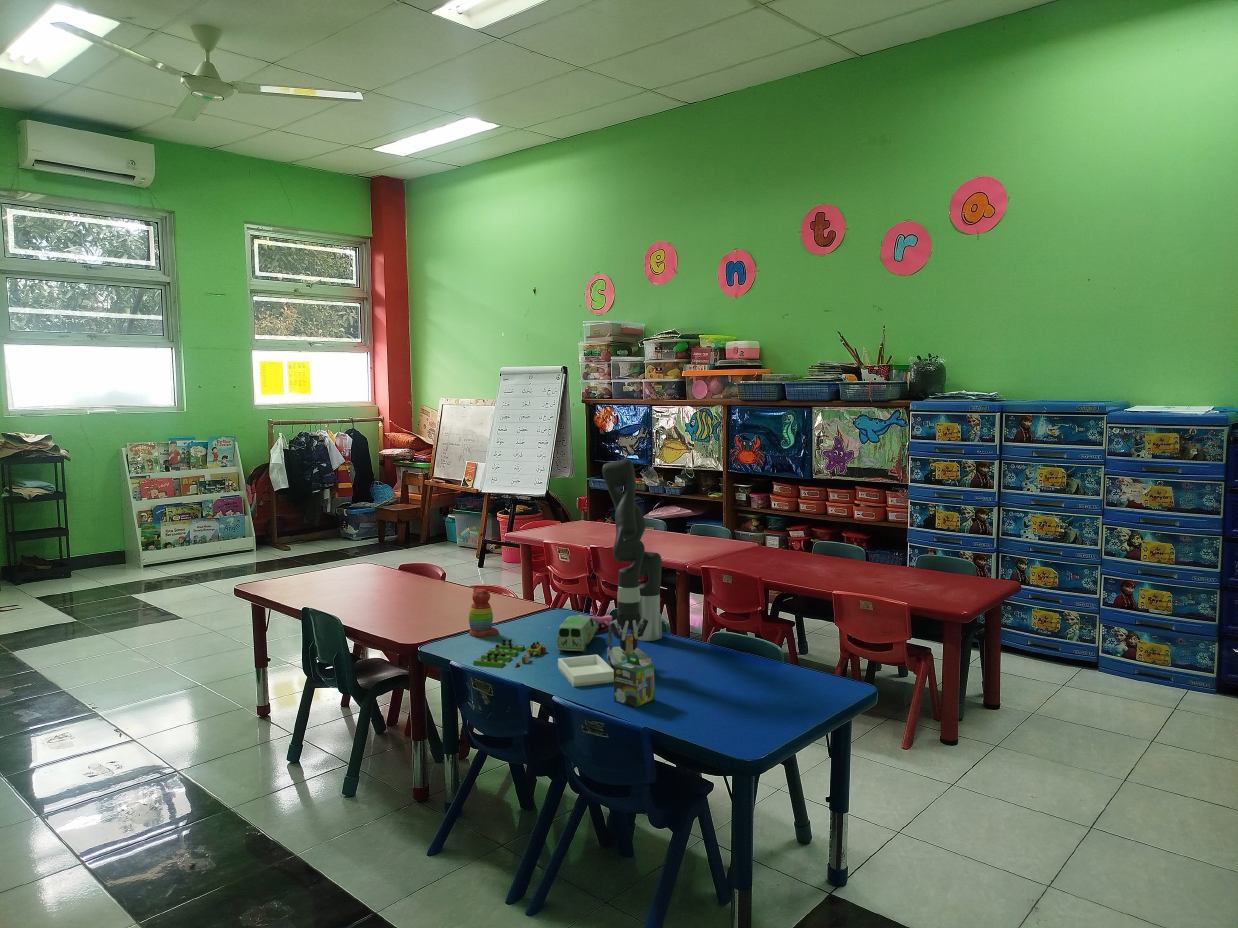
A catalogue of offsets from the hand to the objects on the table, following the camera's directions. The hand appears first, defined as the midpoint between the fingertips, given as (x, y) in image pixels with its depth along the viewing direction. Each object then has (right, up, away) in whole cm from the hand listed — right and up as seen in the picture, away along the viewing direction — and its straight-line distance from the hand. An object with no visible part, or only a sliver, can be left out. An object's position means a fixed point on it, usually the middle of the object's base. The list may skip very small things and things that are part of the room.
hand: (628, 649), depth 279 cm
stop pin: (0, -7, 0) cm, 7 cm away
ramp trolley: (0, -7, 0) cm, 7 cm away
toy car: (-19, -5, +31) cm, 36 cm away
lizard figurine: (-13, -4, +52) cm, 54 cm away
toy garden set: (-41, -7, +15) cm, 44 cm away
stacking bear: (-57, -4, +45) cm, 73 cm away
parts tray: (-14, -7, -4) cm, 17 cm away
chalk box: (+1, -9, -28) cm, 29 cm away
